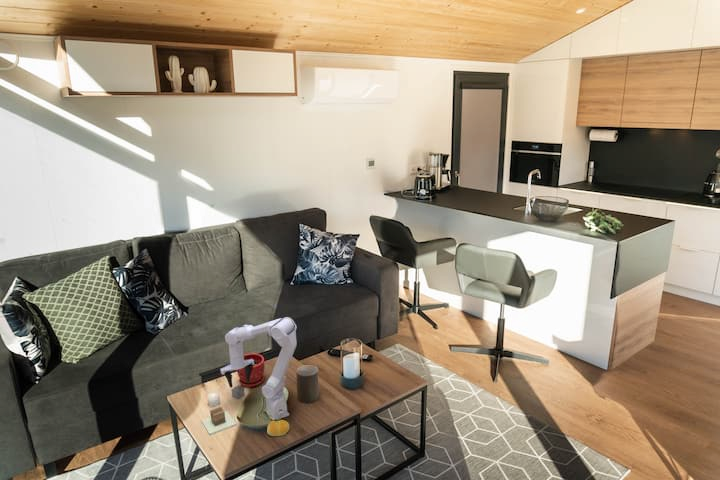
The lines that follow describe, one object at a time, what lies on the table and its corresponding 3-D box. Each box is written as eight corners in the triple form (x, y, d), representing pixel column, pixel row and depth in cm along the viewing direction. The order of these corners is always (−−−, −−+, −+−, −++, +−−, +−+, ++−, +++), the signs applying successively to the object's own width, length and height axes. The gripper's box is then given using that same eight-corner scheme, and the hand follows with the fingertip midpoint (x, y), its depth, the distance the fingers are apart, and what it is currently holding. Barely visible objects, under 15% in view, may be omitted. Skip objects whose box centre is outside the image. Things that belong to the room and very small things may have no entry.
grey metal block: (244, 395, 224) (244, 387, 223) (238, 399, 221) (237, 391, 220) (239, 392, 227) (238, 385, 226) (232, 397, 224) (231, 389, 222)
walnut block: (225, 422, 204) (224, 411, 203) (214, 426, 202) (213, 415, 200) (221, 417, 208) (220, 406, 207) (211, 421, 205) (210, 410, 204)
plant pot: (232, 382, 236) (230, 359, 232) (256, 372, 244) (255, 350, 241) (246, 393, 226) (244, 369, 223) (271, 382, 235) (269, 359, 231)
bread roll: (290, 435, 197) (289, 426, 196) (267, 438, 195) (266, 429, 194) (289, 422, 204) (288, 414, 203) (267, 425, 203) (266, 417, 202)
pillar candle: (304, 406, 215) (303, 375, 212) (293, 396, 223) (292, 366, 219) (323, 398, 221) (322, 368, 217) (311, 389, 229) (310, 359, 225)
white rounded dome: (221, 404, 218) (220, 394, 216) (210, 408, 215) (209, 398, 214) (218, 399, 222) (216, 389, 220) (207, 403, 219) (205, 393, 218)
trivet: (236, 425, 203) (236, 423, 203) (209, 435, 197) (209, 433, 197) (227, 412, 212) (227, 411, 212) (201, 421, 206) (201, 420, 206)
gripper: (248, 347, 219) (251, 374, 222) (216, 356, 211) (219, 385, 214) (255, 353, 213) (257, 381, 217) (222, 363, 205) (225, 392, 209)
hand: (239, 383), depth 215 cm, fingers open, 7 cm apart
